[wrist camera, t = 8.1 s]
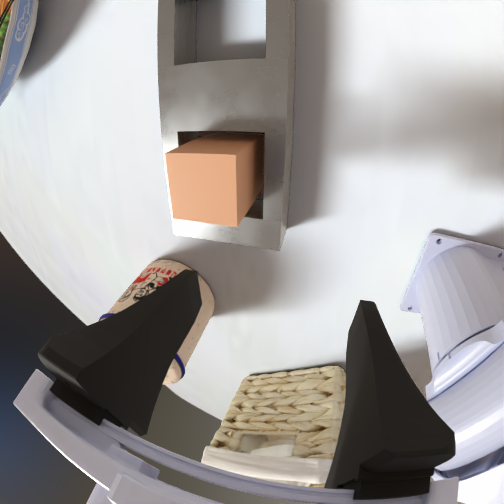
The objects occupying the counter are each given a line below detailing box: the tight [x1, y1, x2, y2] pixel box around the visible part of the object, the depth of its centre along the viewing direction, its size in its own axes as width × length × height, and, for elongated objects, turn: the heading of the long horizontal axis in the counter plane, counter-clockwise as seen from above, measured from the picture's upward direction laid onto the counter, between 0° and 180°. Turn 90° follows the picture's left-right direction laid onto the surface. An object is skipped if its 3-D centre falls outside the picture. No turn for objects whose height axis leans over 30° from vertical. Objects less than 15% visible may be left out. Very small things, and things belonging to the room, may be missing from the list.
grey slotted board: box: [158, 0, 295, 251], centre depth 15 cm, size 20×8×3 cm, turn 0°
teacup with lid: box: [99, 260, 215, 384], centre depth 25 cm, size 12×9×12 cm
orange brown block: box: [165, 133, 264, 227], centre depth 16 cm, size 4×4×6 cm
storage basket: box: [201, 366, 346, 488], centre depth 30 cm, size 24×16×15 cm
